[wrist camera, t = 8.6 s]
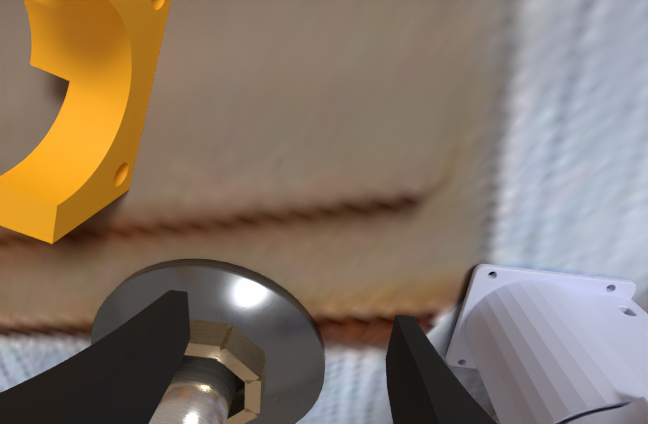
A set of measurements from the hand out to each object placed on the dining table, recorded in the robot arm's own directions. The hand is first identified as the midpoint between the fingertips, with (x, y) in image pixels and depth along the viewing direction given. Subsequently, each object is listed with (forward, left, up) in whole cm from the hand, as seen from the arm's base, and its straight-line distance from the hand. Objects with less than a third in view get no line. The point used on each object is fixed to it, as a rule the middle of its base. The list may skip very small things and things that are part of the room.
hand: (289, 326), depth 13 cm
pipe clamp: (+11, -6, -10) cm, 16 cm away
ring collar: (+6, +12, -9) cm, 16 cm away
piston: (+6, +12, -8) cm, 16 cm away
